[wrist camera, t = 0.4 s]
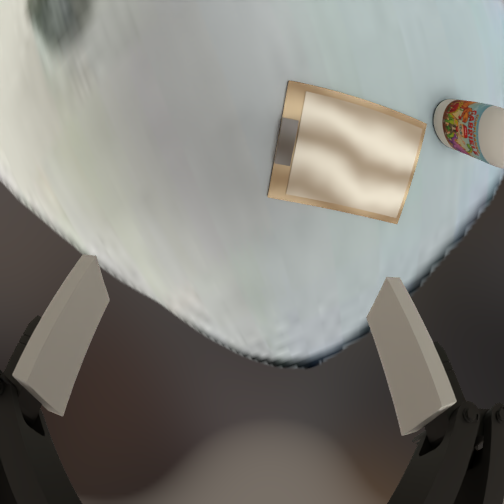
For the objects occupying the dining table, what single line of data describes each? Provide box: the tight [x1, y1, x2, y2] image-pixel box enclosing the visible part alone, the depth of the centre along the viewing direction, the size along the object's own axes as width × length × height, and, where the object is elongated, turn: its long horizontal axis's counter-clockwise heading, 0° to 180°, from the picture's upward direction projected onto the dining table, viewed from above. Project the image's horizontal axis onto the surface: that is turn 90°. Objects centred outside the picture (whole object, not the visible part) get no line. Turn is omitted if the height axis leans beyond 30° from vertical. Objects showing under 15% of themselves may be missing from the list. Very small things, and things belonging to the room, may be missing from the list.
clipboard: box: [268, 81, 427, 224], centre depth 33 cm, size 16×20×2 cm
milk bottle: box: [434, 99, 504, 168], centre depth 20 cm, size 8×8×20 cm
